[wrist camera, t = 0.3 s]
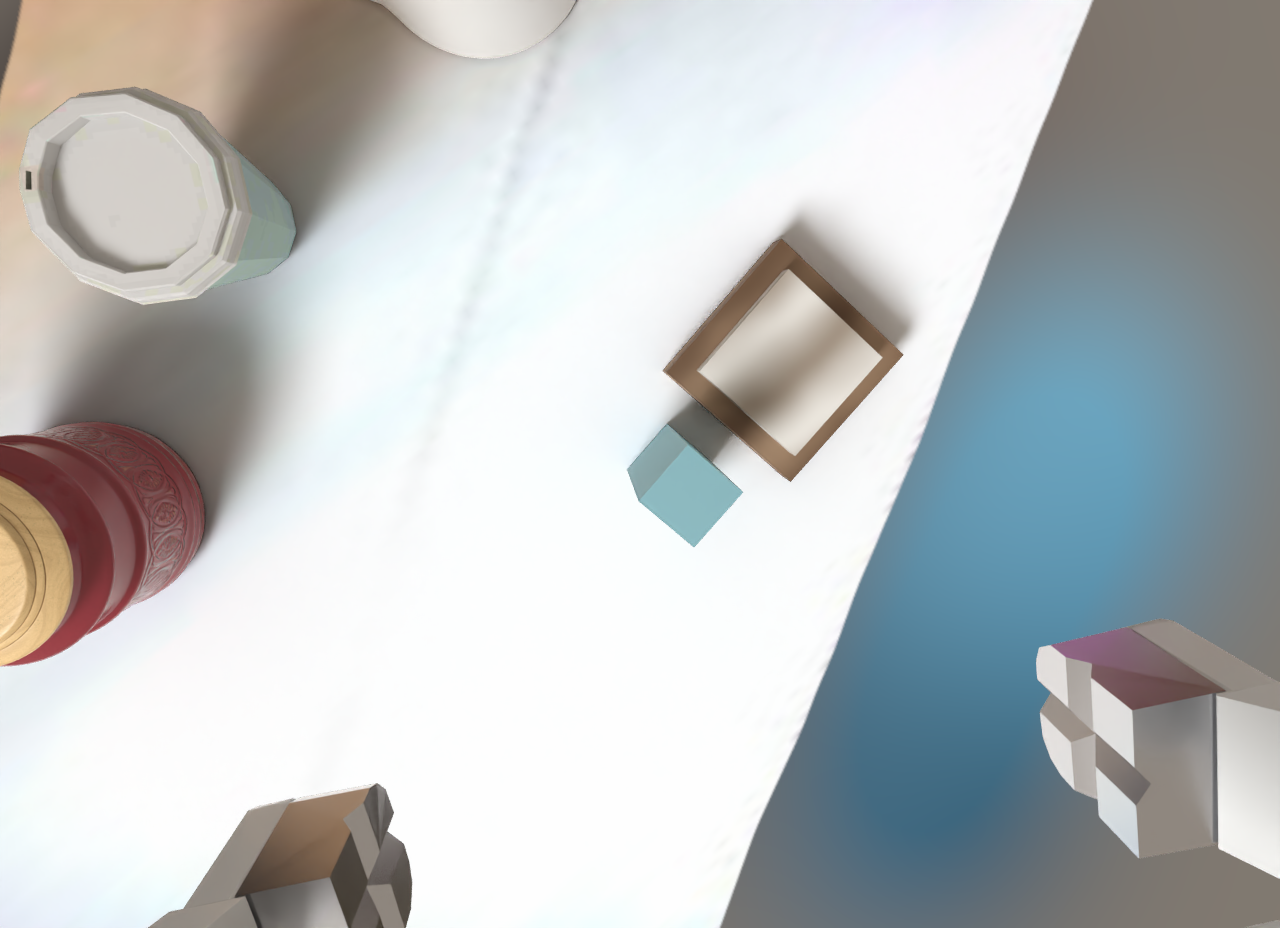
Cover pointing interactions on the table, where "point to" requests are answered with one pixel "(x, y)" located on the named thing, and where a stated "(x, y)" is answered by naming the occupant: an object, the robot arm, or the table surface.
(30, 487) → the canister
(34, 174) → the disposable coffee cup
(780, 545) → the table surface
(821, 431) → the plinth
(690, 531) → the pillar
